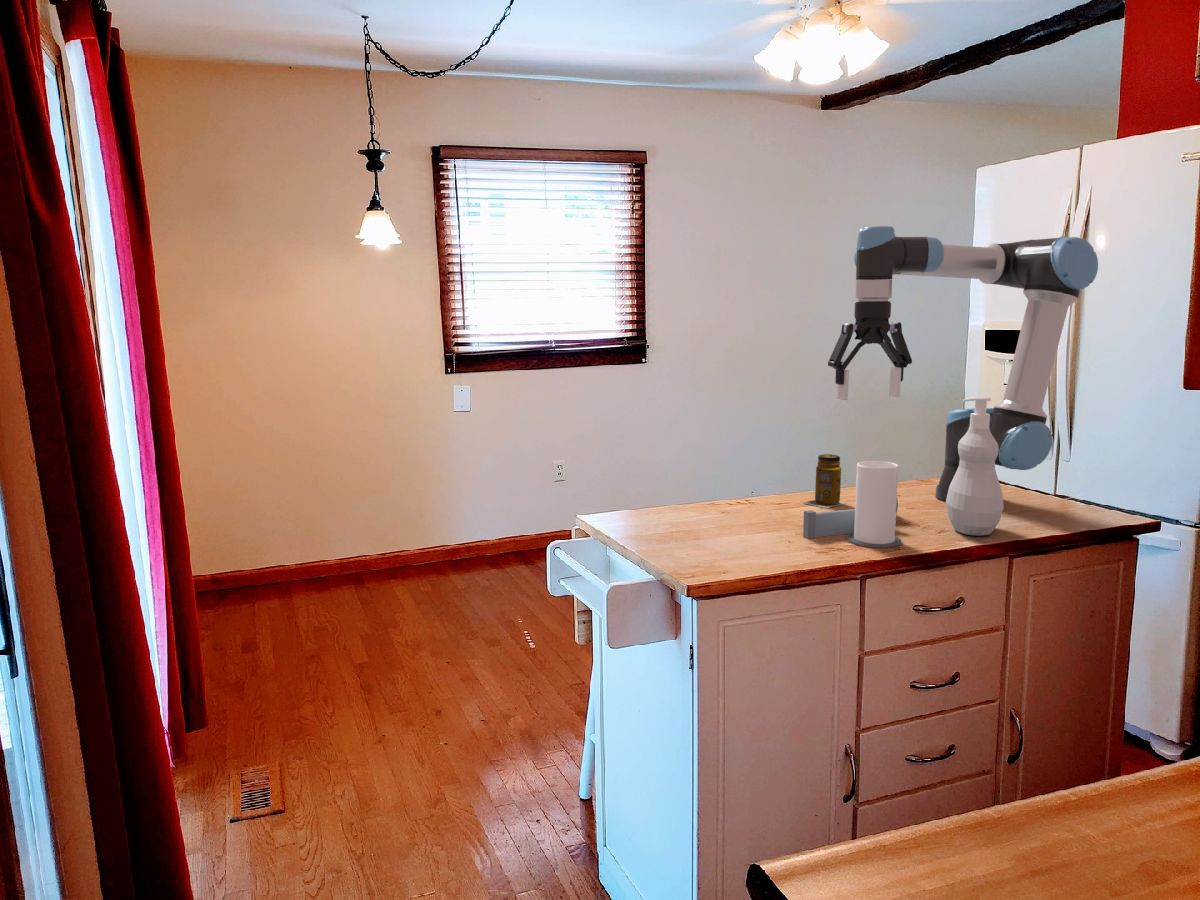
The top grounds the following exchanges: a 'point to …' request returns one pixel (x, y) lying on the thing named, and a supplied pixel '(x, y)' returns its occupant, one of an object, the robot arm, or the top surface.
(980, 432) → the soap bottle
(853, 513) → the grey barrier wall
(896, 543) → the slate coaster
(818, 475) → the condiment
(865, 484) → the cup
